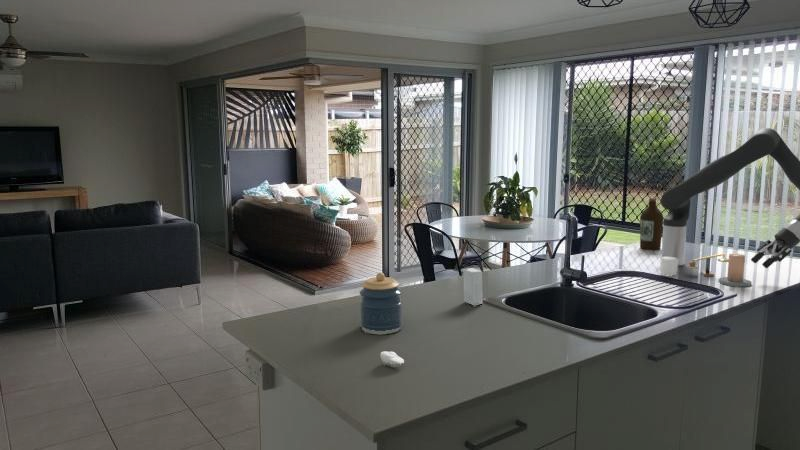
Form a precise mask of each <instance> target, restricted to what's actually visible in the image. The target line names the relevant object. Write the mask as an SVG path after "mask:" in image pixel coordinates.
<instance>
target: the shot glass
mask: <svg viewBox="0 0 800 450" xmlns="http://www.w3.org/2000/svg"><path fill="white" fill-rule="evenodd" d="M659 260H660V274H661V275H662V274H664V275H663V276H665V275H676V276H677V271H678V261H679V259H678V258H676V257H670V256H664V257H662V256H661V257H660V259H659Z"/></svg>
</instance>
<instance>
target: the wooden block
mask: <svg viewBox="0 0 800 450" xmlns="http://www.w3.org/2000/svg"><path fill="white" fill-rule="evenodd" d="M728 259H729V262H727V265H728V267H727V276H726V277H727V280H728V281H730V282H743V279H745V266H746V265H745V262H746V255H745V254H740V253H730V254H728Z"/></svg>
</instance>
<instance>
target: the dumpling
mask: <svg viewBox="0 0 800 450" xmlns="http://www.w3.org/2000/svg"><path fill="white" fill-rule="evenodd" d="M379 357H380V360H381V361H382V362H383V363H384V362H385V363H390V364H394V365H395V364H400V366H402V365H403V364H405V359H404V358H402V357H401V356H399V355H398V354H397V353H396V352H395V351H385V350H384V351H381V352H380V356H379ZM385 363H384V364H385ZM402 363H403V364H402ZM401 364H402V365H401Z"/></svg>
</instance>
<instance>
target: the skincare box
mask: <svg viewBox="0 0 800 450" xmlns="http://www.w3.org/2000/svg"><path fill="white" fill-rule="evenodd" d="M462 272H463V273H462V274H463V276H462V277H463V301H465V302H467V303H469V304H472V305H478V304H482V303H483V304H484V302H483V301H484V300H483V299H484V298H483V297H484V296H483V295H484V294H483V271H482V270H479V269H477V268H473V267H470V268H465V269H463V270H462ZM465 302H464V303H465ZM467 303H466V304H467ZM469 304H468V305H469Z"/></svg>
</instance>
